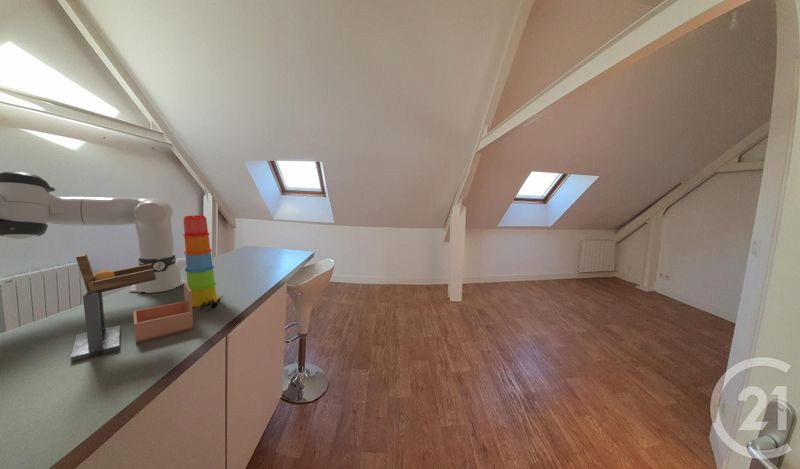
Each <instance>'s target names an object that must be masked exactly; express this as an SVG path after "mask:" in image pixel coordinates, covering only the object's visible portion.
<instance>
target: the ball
mask: <svg viewBox="0 0 800 469" xmlns="http://www.w3.org/2000/svg"><path fill="white" fill-rule="evenodd" d="M94 275H95V276H94V281H98V280H103V279H107V278H112V277H115V274H114V273H113V272H112V270H100V271H98V272H97V273H95V274H94Z"/></svg>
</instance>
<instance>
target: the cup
mask: <svg viewBox="0 0 800 469" xmlns="http://www.w3.org/2000/svg"><path fill="white" fill-rule="evenodd" d="M183 294H184V297H183V298H184V301H180V302H174V303H169V304H168V303H167V304H162V305H158V306H157V305H156V306H152V307H147V308H141V309H136V310H133V312H132V313H133V326H134V327H133V328H134V335H135V337H134V338H135V344H141V343H145V342H148V341H152V340H156V339H160V338H165V337H168V336H169V337H170V336H172V335H177V334H181V333H185V332H189V331H190V332H191V331H194V317H193V314H194V313H193V307H192V291H191V289H190V288H189V286H188V284H187V281H186V282H184V285H183Z"/></svg>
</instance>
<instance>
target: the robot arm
mask: <svg viewBox="0 0 800 469" xmlns="http://www.w3.org/2000/svg"><path fill="white" fill-rule="evenodd" d="M55 191H56V188H54V187H51V186H50V185H49V183H48V181H46V180H45V179H43V178H42V177H40V176H39V175H36V174H33V173H29V172H24V171H4V172H3V171H2V172H0V236H1V237H6V238H9V239H10V238H11V239H17V240H18V239H19V240H23V239H31V238H37V237H41V236H43V235H45V233H47V229H48V228H49V227H48V226H49V224H56V225H63V226H64V225H66V226H86V227H87V226H94V227H95V226H101V227H102V226H126V225H127V226H130V225H135V229H136V234H137V239H138V248H139V250H138V252H139V257H138V266H142V265H147V264H152V267H153V269H154V273H155V277H156V280H152V281H148V282H144V283H139V284H135V285H131V286H130V288H132V287H134V286H136V287H134V288H132V289H130V288H129V289H128V292H129V293H141V292H145V293H146V294H151V293H162V292H166V291H170V290H174V289H177V288H178V286H179V287H181V286H184V285H183V284H184V282H186V283H187V280H184V279H182V273H181V267H180V266H179V265H177V263H176V260H177V259H176V255H175V251H174V250H175V249H174V246H175V245H174V236H173V235H174V234H173V228H172V219H171V218H172V216H173V207H172V206H171V204H169V203H168V201H165V200H164V199H160V198H147V197H146V198H144V197H143V198H141V197H139V198H138V197H101V196H100V197H98V196H96V197H95V196H57V195H53V194H52V193H51V192H55ZM48 223H49V224H48ZM140 284H141V285H140ZM138 285H139V286H138ZM180 285H181V286H180ZM176 287H177V288H176ZM145 293H144V294H145Z"/></svg>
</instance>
